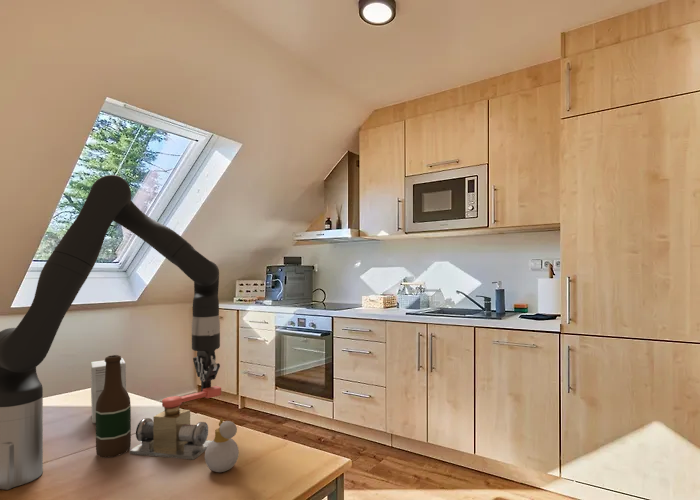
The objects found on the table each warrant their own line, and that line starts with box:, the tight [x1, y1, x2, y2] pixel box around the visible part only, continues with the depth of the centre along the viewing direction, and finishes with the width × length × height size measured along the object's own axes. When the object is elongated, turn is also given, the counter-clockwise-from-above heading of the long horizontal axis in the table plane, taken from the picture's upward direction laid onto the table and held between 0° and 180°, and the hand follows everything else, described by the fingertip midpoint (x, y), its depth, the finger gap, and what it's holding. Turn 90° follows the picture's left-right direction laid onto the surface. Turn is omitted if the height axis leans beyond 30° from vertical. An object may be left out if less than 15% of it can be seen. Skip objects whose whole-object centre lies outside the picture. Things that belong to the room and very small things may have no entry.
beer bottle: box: [95, 354, 132, 459], centre depth 110 cm, size 8×8×24 cm
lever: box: [161, 385, 222, 408], centre depth 115 cm, size 15×5×2 cm, turn 135°
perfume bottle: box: [204, 417, 240, 473], centre depth 99 cm, size 8×10×12 cm
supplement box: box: [90, 357, 127, 424], centre depth 136 cm, size 10×9×17 cm
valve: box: [128, 405, 213, 460], centre depth 111 cm, size 9×18×11 cm, turn 77°
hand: (206, 393), depth 121 cm, fingers closed
